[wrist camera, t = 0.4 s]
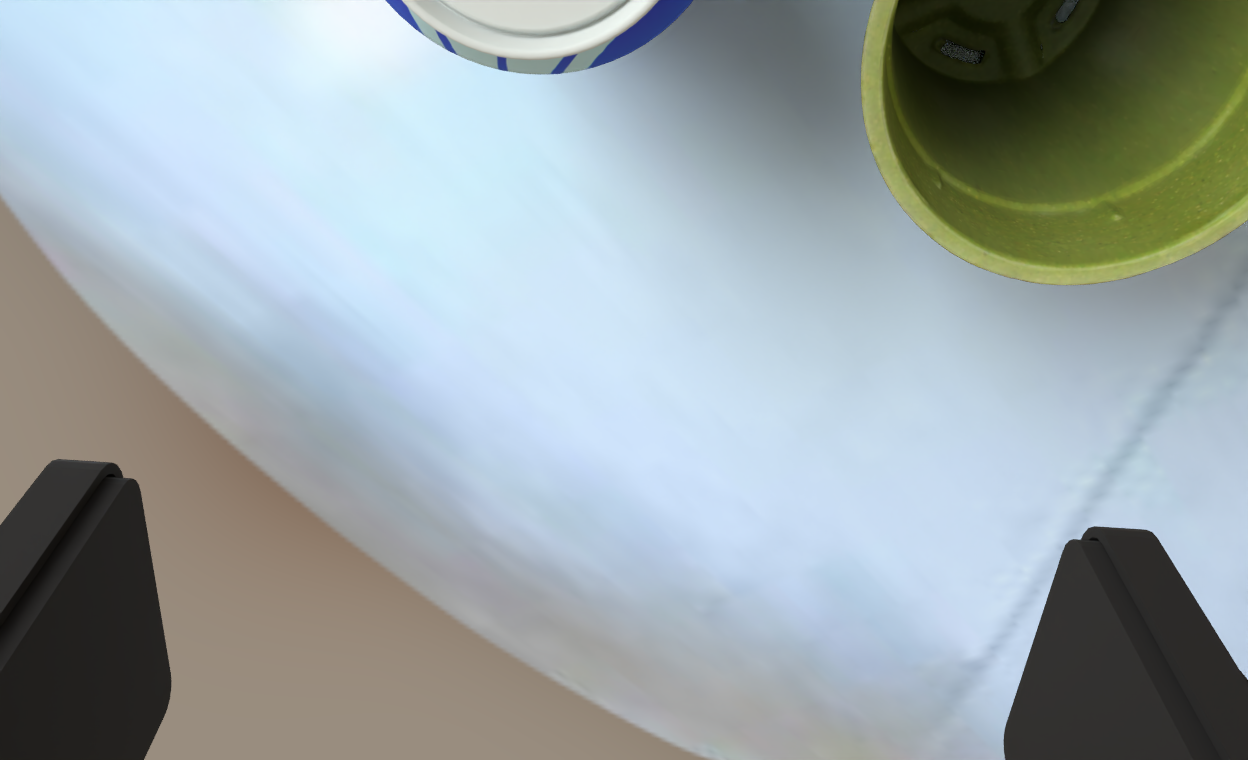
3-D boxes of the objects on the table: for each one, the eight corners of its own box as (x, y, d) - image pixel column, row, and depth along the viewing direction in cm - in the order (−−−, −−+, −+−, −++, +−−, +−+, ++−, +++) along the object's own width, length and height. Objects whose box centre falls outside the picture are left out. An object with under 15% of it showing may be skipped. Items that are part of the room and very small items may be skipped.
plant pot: (1193, -276, 34) (1416, -268, 24) (1167, 116, 40) (1338, 250, 30) (788, -202, 35) (845, -166, 25) (820, 170, 41) (876, 315, 31)
